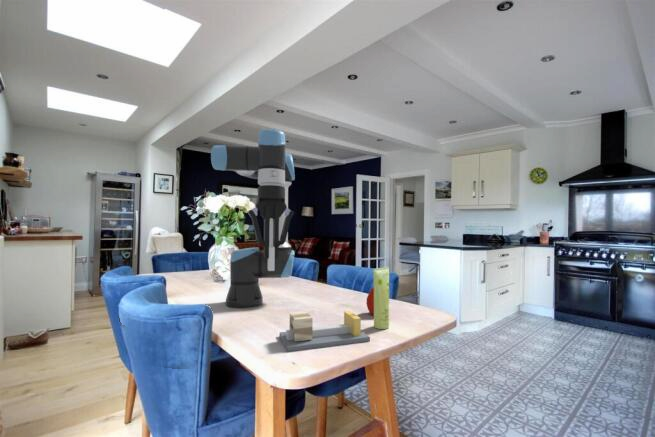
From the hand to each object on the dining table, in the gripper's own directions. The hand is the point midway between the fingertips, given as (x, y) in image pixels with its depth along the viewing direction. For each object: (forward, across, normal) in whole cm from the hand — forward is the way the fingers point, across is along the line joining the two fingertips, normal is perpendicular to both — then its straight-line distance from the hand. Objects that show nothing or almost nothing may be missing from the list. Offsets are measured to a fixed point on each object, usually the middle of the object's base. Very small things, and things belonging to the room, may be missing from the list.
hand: (271, 270), depth 88 cm
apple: (+21, +43, +18) cm, 51 cm away
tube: (+21, +37, +4) cm, 42 cm away
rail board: (+21, +16, 0) cm, 26 cm away
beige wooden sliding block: (+19, +9, 0) cm, 21 cm away
